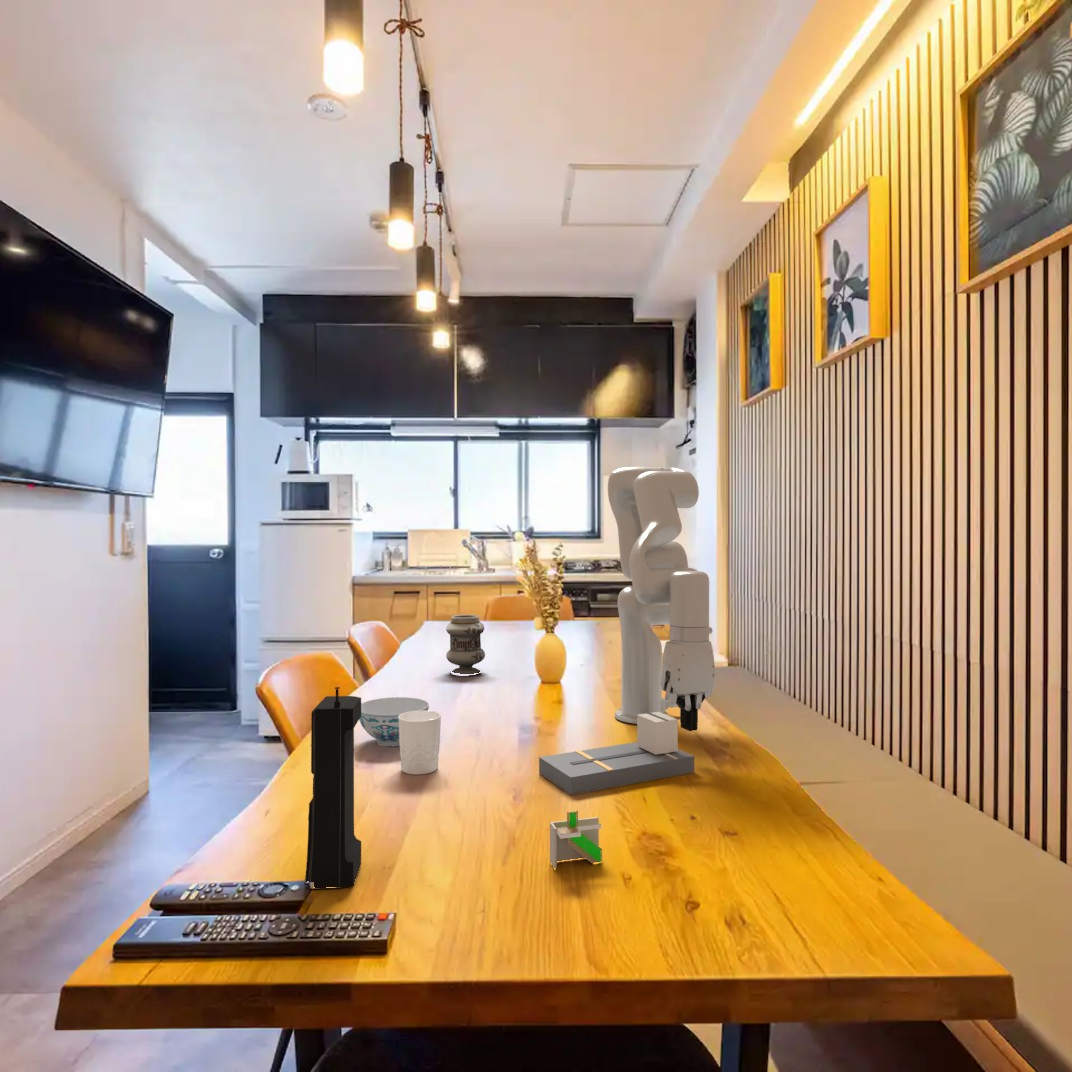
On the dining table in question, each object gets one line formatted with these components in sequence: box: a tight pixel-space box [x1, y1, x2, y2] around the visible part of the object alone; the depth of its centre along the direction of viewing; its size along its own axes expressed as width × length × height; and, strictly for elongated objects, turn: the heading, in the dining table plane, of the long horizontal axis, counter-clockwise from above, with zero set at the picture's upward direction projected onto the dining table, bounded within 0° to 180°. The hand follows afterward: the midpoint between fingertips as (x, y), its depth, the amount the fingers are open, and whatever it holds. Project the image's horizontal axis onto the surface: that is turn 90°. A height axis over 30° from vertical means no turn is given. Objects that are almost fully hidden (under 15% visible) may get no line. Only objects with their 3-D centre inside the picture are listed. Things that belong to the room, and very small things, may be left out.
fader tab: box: [636, 712, 679, 755], centre depth 136 cm, size 5×6×6 cm
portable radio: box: [304, 686, 362, 888], centre depth 93 cm, size 8×6×25 cm
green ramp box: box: [549, 810, 603, 868], centre depth 95 cm, size 4×7×8 cm, turn 105°
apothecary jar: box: [445, 614, 486, 674], centre depth 223 cm, size 12×12×18 cm
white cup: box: [398, 710, 442, 776], centre depth 134 cm, size 8×8×10 cm
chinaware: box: [358, 696, 430, 747], centre depth 151 cm, size 15×15×8 cm
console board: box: [538, 741, 695, 796], centre depth 132 cm, size 26×12×3 cm, turn 116°
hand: (688, 728), depth 139 cm, fingers closed
